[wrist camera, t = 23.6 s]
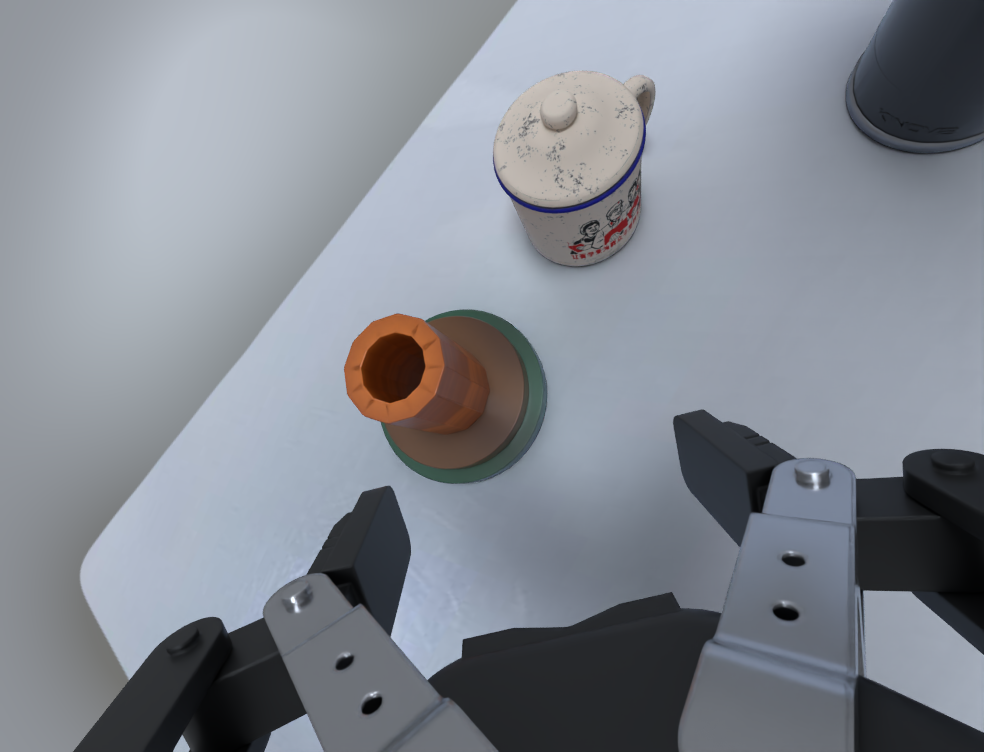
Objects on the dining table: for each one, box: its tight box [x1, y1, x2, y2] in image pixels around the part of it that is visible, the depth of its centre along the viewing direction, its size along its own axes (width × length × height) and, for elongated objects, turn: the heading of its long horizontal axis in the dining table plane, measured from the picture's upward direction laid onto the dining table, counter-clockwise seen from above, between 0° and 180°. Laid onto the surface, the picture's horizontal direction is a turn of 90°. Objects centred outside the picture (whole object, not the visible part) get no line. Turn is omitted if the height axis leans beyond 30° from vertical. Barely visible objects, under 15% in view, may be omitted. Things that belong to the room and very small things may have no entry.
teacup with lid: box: [493, 71, 655, 266], centre depth 30 cm, size 12×9×12 cm
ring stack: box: [381, 310, 547, 484], centre depth 34 cm, size 13×13×3 cm
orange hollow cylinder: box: [344, 314, 490, 435], centre depth 29 cm, size 6×6×8 cm
